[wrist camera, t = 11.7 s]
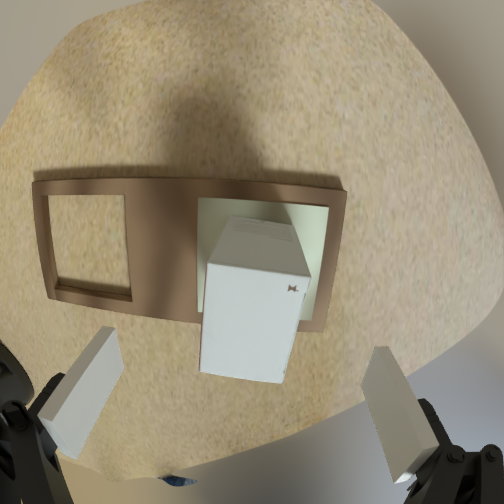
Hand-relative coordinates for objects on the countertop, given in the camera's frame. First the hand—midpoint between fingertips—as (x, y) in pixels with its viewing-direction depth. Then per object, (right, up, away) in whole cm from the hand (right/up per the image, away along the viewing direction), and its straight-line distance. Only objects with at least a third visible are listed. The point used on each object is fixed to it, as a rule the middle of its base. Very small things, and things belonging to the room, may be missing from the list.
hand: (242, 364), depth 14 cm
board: (-8, +6, +14) cm, 17 cm away
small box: (+1, +5, +13) cm, 13 cm away
